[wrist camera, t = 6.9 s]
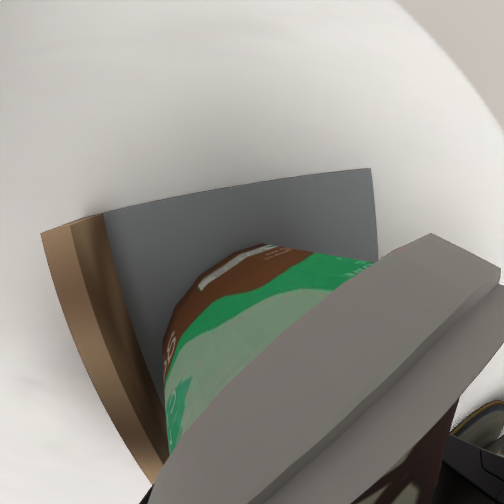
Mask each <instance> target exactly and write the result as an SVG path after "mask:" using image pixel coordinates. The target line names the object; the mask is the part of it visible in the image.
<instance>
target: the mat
mask: <svg viewBox="0 0 504 504" xmlns="http://www.w3.org/2000/svg"><path fill="white" fill-rule="evenodd" d="M103 216H104V221H105V226H106V230H107V235H108V239H109V243H110V248H111V252H112V256H113V260H114V264H115V268H116V271H117V275H118V279H119V282H120V286H121V289H122V293H123V296H124V300H125V303H126V306H127V310H128V313H129V316H130V319H131V322H132V325H133V328H134V331H135V334H136V337H137V340H138V343H139V346H140V349H141V352H142V354H143V357H144V360H145V363H146V365H147V368H148V371H149V373H150V376H151V378H152V381H153V383H154V386H155V388H156V391H157V393H158V396H159V398H160V401H161V403H162V405H163V408H164V410H165V398H164V382H163V338H164V335H165V332H166V329H167V327H168V324H169V321H170V318H171V316H172V313H173V310H174V307H175V306H176V304H177V303H178V302H179V301H180V299H181V298H182V297H183V296H184V294H185V293H186V292H187V291H188V289H189V288H190V287H191V286H192V284H193V283H194V282H195V281H196V279H197V278H198V277H199V276H200V275H201V274H203V273H204V272H206V271H207V270H209V269H210V268H212V267H213V266H215V265H216V264H217V263H219V262H220V261H222V260H223V259H225V258H226V257H228V256H229V255H231V254H232V253H234V252H237V251H240V250H243V249H246V248H249V247H252V246H255V245H258V244H261V243H264V244H270V245H276V246H282V247H288V248H294V249H300V250H305V251H311V252H317V253H323V254H329V255H334V256H340V257H346V258H352V259H357V260H363V261H369V262H374V263H375V262H377V261H378V245H377V228H376V215H375V204H374V193H373V184H372V175H371V168H368V169H357V170H347V171H338V172H330V173H321V174H313V175H306V176H298V177H291V178H284V179H277V180H270V181H264V182H257V183H251V184H245V185H239V186H233V187H227V188H221V189H215V190H210V191H204V192H199V193H194V194H188V195H183V196H178V197H173V198H168V199H163V200H158V201H154V202H149V203H144V204H140V205H135V206H131V207H126V208H122V209H118V210H113V211H109V212H105V213H103Z"/></svg>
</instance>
